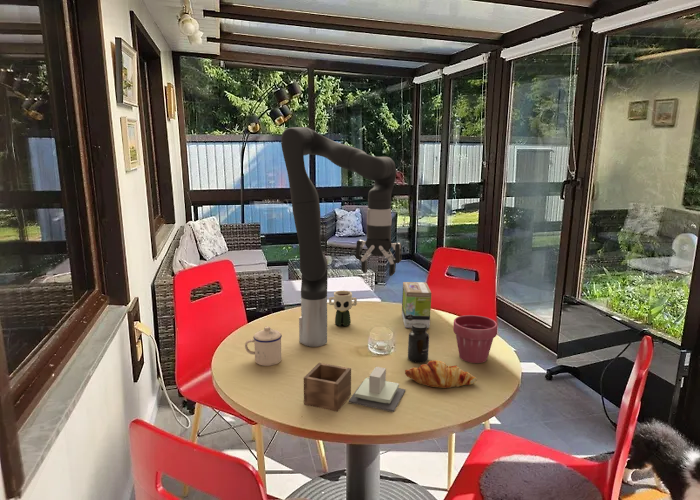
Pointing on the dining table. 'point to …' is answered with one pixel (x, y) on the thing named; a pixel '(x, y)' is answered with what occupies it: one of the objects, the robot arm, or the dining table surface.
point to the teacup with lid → (266, 346)
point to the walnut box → (327, 386)
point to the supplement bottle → (418, 343)
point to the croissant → (440, 375)
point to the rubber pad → (379, 405)
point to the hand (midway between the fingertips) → (378, 274)
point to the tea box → (416, 303)
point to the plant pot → (474, 337)
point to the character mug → (342, 306)
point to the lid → (377, 387)
